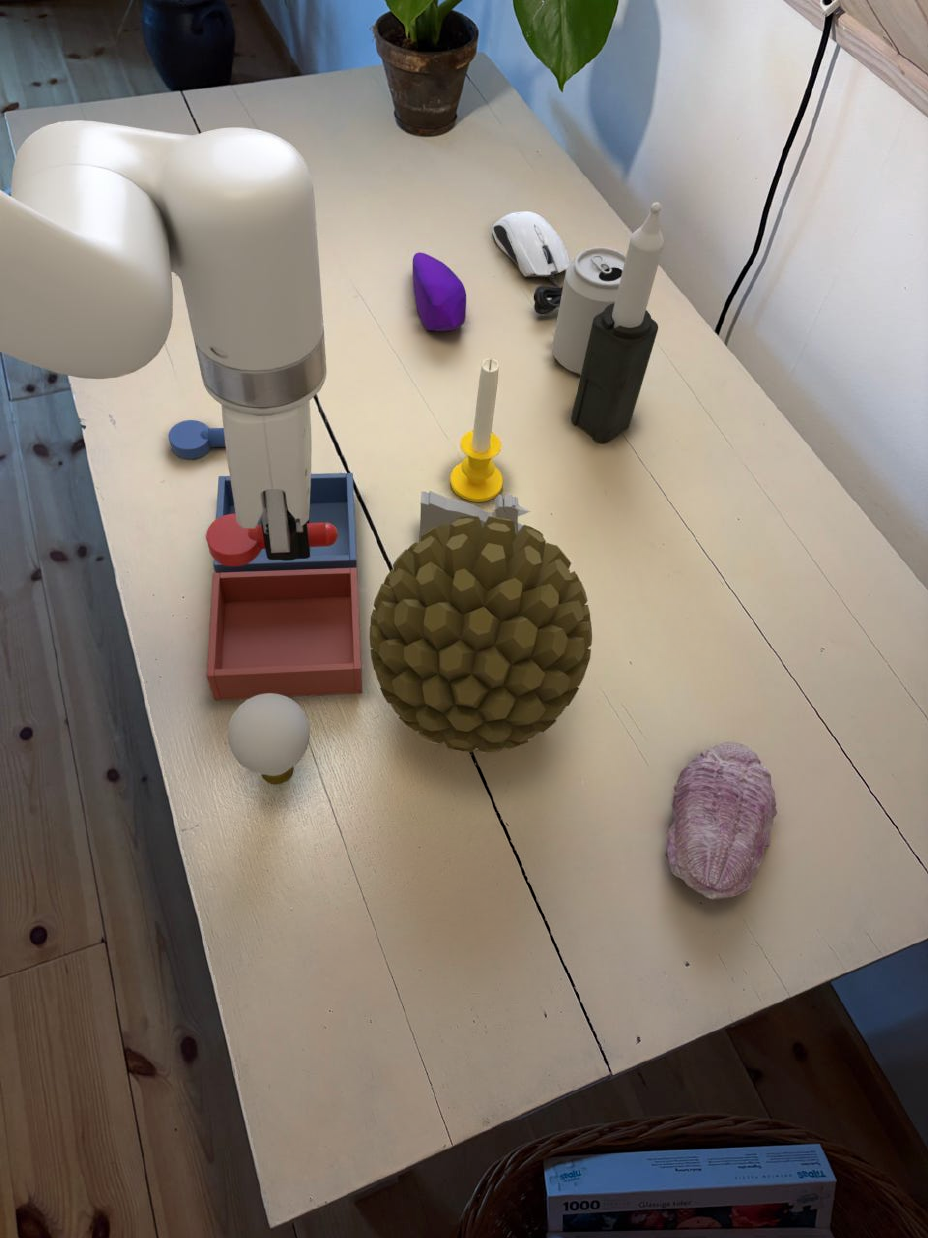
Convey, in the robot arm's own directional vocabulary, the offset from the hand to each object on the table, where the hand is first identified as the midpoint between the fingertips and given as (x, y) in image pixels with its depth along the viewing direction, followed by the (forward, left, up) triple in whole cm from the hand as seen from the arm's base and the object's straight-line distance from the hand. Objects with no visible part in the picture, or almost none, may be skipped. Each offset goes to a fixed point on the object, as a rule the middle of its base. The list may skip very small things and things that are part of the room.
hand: (288, 542), depth 72 cm
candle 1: (+17, +17, -13) cm, 27 cm away
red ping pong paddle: (-1, 0, 0) cm, 1 cm away
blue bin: (-1, +10, -13) cm, 16 cm away
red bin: (-1, -1, -13) cm, 13 cm away
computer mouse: (+28, +51, -13) cm, 59 cm away
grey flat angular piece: (+16, +10, -13) cm, 23 cm away
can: (+31, +35, -13) cm, 48 cm away
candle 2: (+31, +25, -13) cm, 42 cm away
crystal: (+15, +44, -13) cm, 48 cm away
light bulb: (-2, -13, -13) cm, 19 cm away
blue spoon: (-8, +23, -13) cm, 27 cm away
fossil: (+32, -20, -13) cm, 40 cm away
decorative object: (+14, -7, -13) cm, 20 cm away
